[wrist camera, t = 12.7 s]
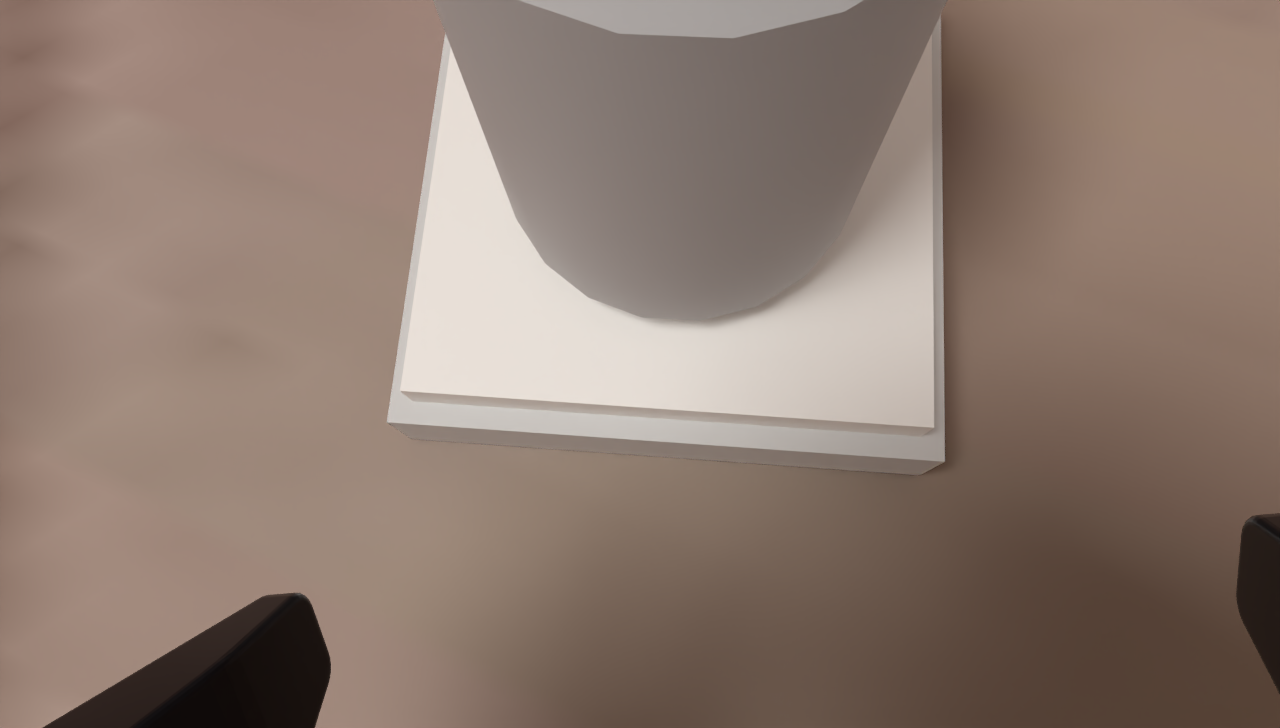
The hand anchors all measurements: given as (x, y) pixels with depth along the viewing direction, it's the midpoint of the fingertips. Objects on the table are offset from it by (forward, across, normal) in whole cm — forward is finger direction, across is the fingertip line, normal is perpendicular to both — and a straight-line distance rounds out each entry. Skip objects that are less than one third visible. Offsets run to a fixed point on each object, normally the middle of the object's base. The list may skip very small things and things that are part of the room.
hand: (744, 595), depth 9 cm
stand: (+15, +2, 0) cm, 15 cm away
